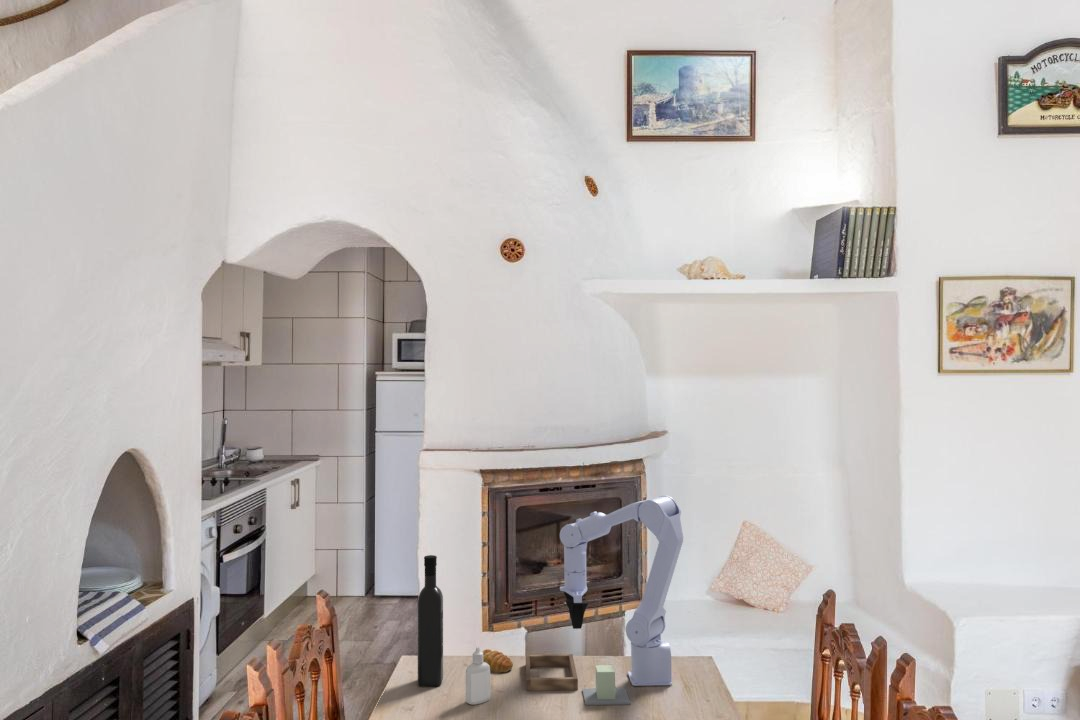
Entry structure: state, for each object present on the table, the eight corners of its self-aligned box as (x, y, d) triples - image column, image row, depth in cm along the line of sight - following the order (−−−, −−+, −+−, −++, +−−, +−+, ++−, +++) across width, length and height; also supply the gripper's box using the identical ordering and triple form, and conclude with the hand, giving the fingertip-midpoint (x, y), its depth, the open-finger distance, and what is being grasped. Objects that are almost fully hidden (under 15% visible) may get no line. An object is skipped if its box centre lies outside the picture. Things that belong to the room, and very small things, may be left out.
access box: (572, 664, 186) (572, 654, 186) (577, 689, 170) (577, 678, 171) (525, 664, 186) (525, 655, 186) (526, 690, 170) (526, 679, 170)
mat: (625, 689, 170) (625, 687, 170) (630, 704, 162) (630, 702, 162) (582, 690, 170) (582, 688, 170) (585, 705, 162) (585, 703, 162)
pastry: (519, 668, 184) (519, 653, 184) (501, 677, 179) (501, 661, 179) (491, 660, 190) (491, 645, 190) (473, 668, 185) (473, 653, 185)
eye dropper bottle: (491, 704, 163) (490, 649, 163) (465, 705, 162) (465, 651, 163) (489, 696, 167) (489, 643, 168) (465, 697, 166) (465, 644, 167)
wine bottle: (443, 677, 178) (443, 553, 179) (441, 687, 173) (440, 558, 174) (420, 678, 178) (420, 553, 179) (416, 687, 172) (416, 559, 174)
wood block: (613, 691, 168) (612, 665, 168) (615, 698, 164) (615, 671, 164) (595, 691, 168) (595, 665, 168) (597, 699, 164) (597, 672, 164)
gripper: (558, 563, 196) (558, 615, 195) (561, 577, 181) (562, 633, 180) (584, 563, 196) (585, 614, 195) (589, 577, 181) (590, 632, 181)
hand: (575, 623), depth 188 cm, fingers open, 7 cm apart
